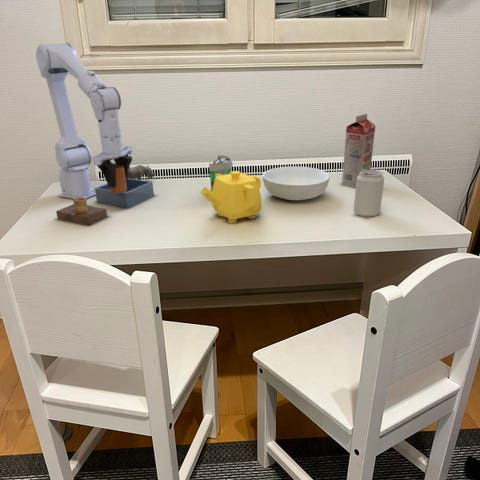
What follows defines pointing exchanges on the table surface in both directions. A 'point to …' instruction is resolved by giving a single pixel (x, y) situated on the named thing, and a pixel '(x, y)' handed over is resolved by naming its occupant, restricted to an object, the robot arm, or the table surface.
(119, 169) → the jar
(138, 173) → the rhino figurine
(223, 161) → the grey green irregular piece
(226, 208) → the teapot
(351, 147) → the juice carton
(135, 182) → the blue open tray
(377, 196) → the can
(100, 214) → the panel
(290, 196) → the serving bowl
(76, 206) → the tap knob
